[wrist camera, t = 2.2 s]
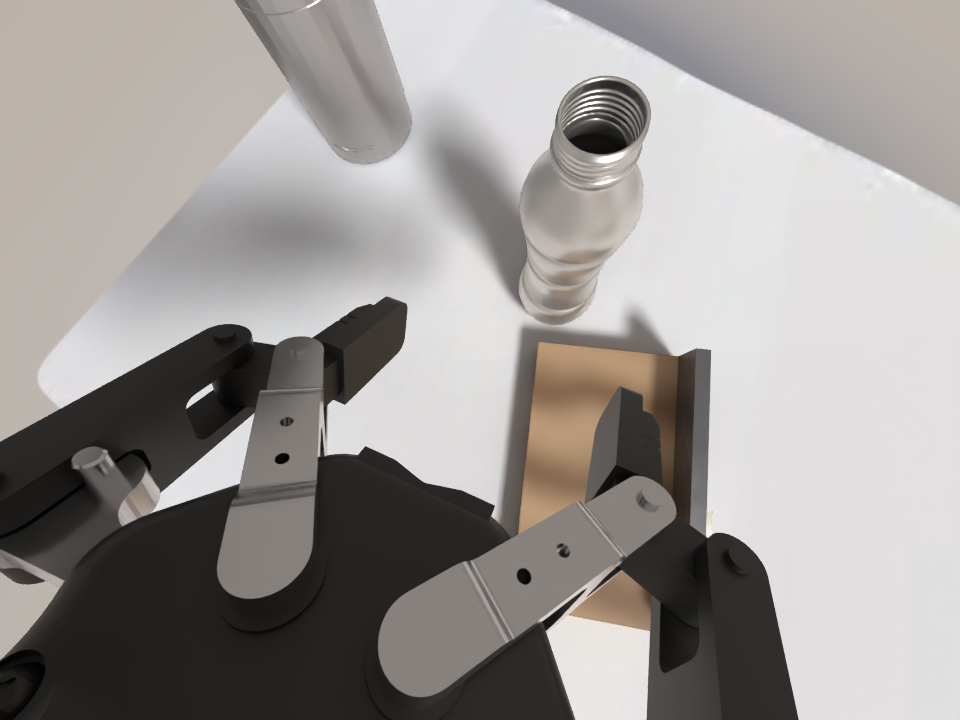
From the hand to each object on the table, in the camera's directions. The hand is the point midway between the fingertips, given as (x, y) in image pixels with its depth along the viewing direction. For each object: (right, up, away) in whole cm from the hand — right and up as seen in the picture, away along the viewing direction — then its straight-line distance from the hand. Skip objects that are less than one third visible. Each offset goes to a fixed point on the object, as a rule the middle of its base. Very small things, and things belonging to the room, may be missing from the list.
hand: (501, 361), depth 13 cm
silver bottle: (+6, +6, +21) cm, 22 cm away
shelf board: (+9, -9, +17) cm, 22 cm away
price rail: (+14, -9, +14) cm, 22 cm away
